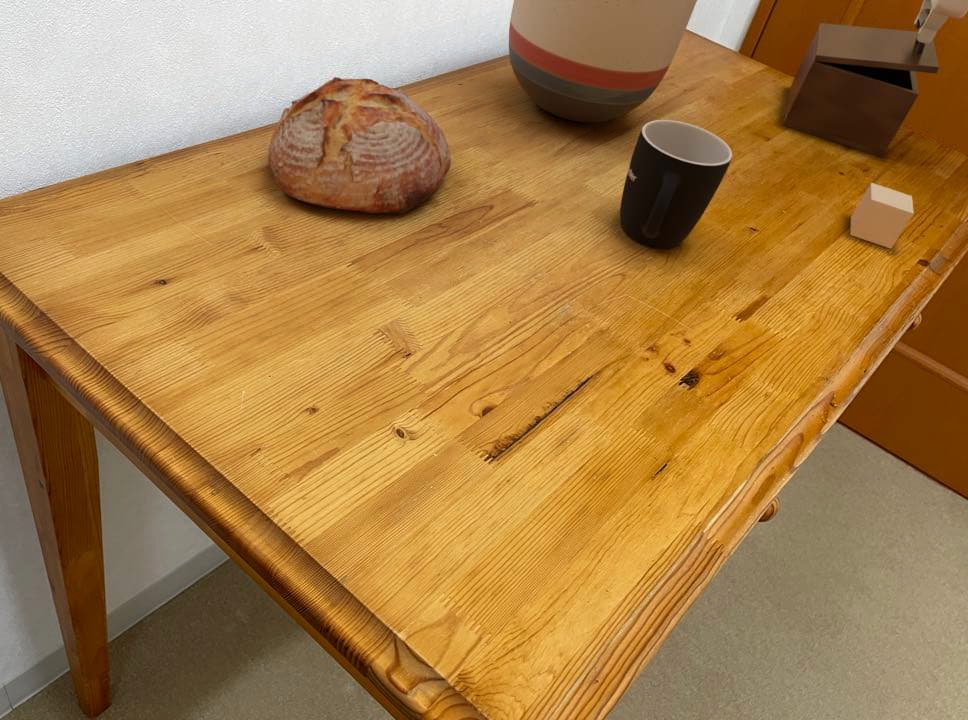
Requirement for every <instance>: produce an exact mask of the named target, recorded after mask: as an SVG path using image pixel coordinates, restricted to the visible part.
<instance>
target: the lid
mask: <svg viewBox="0 0 968 720" xmlns="http://www.w3.org/2000/svg"><path fill="white" fill-rule="evenodd" d="M930 10H931V9H925V10H923V11H922V12H921V13H920V14H919V13H918V14H919V23H920V28H921V26H922V24H924V22H925V21H926V19H927V17H928V15H929V13H930ZM817 30H818V38H817V46H816V53H815V61H818V62H827V63H837V64H847V65H857V66H867V67H877V68H886V69H896V70H906V71H915V73H927V74H934V75H935V74H938V72H939V69H940V65H939V61H938V57H937V52H936V47H935V43H934V39H933V40H932V42H931V43H929V44H925V43H922V42H919V41H918V40H917V34H918V32H919V30H920V29H918V31H912V30H903V29H901V30H900V29H889V28H878V27H869V26H858V25H857V26H855V25H846V24H845V25H844V24H833V23H823V22H821V23H819V25H818V29H817Z"/></svg>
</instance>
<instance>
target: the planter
mask: <svg viewBox="0 0 968 720" xmlns="http://www.w3.org/2000/svg"><path fill="white" fill-rule="evenodd" d="M697 1H698V0H513V2H512V8H511V13H510V19H509V28H508V55H509V60H510V66H511V68H512V72H513V74H514V76H515V78H516V80H517V83H518V84H519V86H520V87H521V88H522V90H523V91H524V93H525V94H526V95H527V96H528V97H529V98H530V100H531V101H532V102H534V103H535V104H536V105H537V106H538V107H540V108H541V109H543V110H544V111H546V112H548V113H550V114H551V115H552V114H553V115H554V116H556V117H559V118H562V119H565V120H569V121H573V122H578V123H600V122H601V123H602V122H607V121H611V120H613V119H617V118H620V117H622V116H625V115H626V114H628V113H630V112H632V111H633V110H636V109H637V108H638V107H640V106H641V105H643V104H644V103H645V102H646V101H647V100H648V99H649V98H650V97H651V96H652V94H653V93H654V92H655V91H656V89H657V88H658V87H659V85H660V84H661V82H662V80H663V78H664V77H665V75H666V74H667V72H668V70H669V68H670V66H671V64H672V62H673V60H674V57H675V54H676V53H677V50H678V48H679V46H680V44H681V41H682V39H683V36H684V34H685V31H686V30H687V27H688V25H689V22H690V19H691V17H692V15H693V12H694V9H695V6H696V4H697Z"/></svg>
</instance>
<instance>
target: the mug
mask: <svg viewBox="0 0 968 720" xmlns="http://www.w3.org/2000/svg"><path fill="white" fill-rule="evenodd" d="M732 160H733V151H732V150H731V148H730V146H729V145H728V144H727V142H725V141H724V140H723V139H722V138H720V137H719V136H717V135H716V134H714V133H713V132H711V131H708V130H706V129H704V128H702V127H700V126H697V125H694V124H690V123H687V122H682V121H679V120H672V119H657V120H656V119H655V120H651V121H649V122H647V123H645V124H644V125H643V126H642V128H641V130H640V132H639V134H638V137H637V140H636V143H635V146H634V149H633V152H632V156H631V160H630V163H629V166H628V170H627V173H626V177H625V181H624V185H623V190H622V195H621V201H620V207H619V223H620V227H621V229H622V230H623V232H624V234H625V235H627V236H628V237H629V238H630V239H631V240H633V241H635V242H637V243H638V244H641V245H643V246H646V247H648V248H653V249H658V250H659V249H661V250H662V249H663V250H665V249H666V250H667V249H673V248H675V247H677V246H678V245H680V244H681V243H682V242H683V241H685V239H686V238H687V237H688V236H689V235H690V234H691V232H692V231H693V230H694V228H695V226H696V225H697V224H698V222H699V221H700V220H701V218H702V216H703V215H704V213H705V212H706V210H707V208H708V206H709V205H710V203H711V201H712V200H713V198H714V196H715V194H716V192H717V191H718V190H719V189H718V188H719V187H720V185H721V183H722V182H723V179H724V177H725V175H726V173H727V171H728V169H729V166H730V164H731V162H732Z"/></svg>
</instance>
